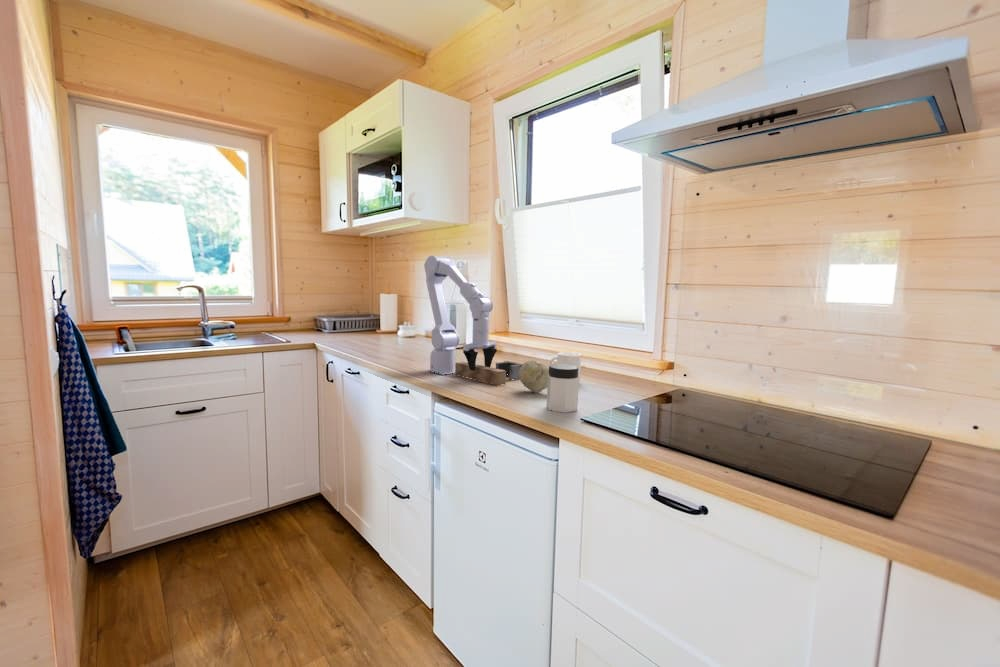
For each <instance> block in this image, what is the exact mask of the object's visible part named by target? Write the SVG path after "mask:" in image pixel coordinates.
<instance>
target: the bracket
mask: <svg viewBox="0 0 1000 667" xmlns="http://www.w3.org/2000/svg"><path fill="white" fill-rule="evenodd" d="M523 364H524V363H521V362H515V361H512V360H511V361H510V360H505V361H500V362H495V368H496V369H501V370H505V371H506V376H509V377H508V379H509V380H510V379H515V380H518V379H517V378H519V370H520V368H521V366H522V365H523ZM507 374H508V375H507Z"/></svg>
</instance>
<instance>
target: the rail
mask: <svg viewBox="0 0 1000 667" xmlns="http://www.w3.org/2000/svg"><path fill="white" fill-rule="evenodd" d="M455 374H456V375H460V376H464V377H463V378H465V377H468V378H467V379H469V378H472V379H471V380H473V379H476V380H475V381H477V380H480V381H479V382H481V381H484V382H483V383H486V382H488V383H487V384H490V383H492V384H491V385H494V384H496V385H495V386H498V385H499V386H502V385H501V384H504V385H506V383H507V382H506V379H507V375H506V371H505V370H501V369H496V367H492V366H490V367H486V366H485V365H481V364H475V371H472V370H469V365H468V362H465V361H459V362H455V373H454V375H455ZM456 375H455V376H456ZM460 376H459V377H460Z"/></svg>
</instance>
